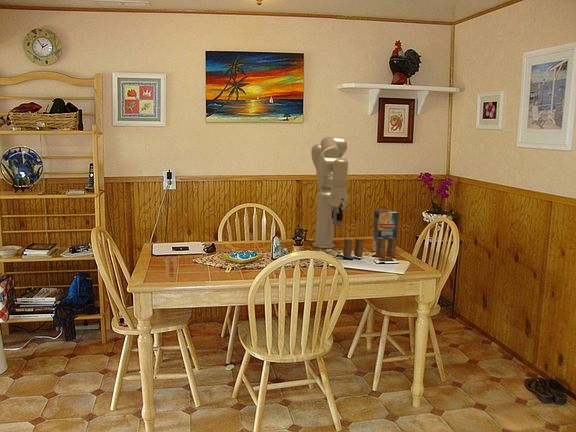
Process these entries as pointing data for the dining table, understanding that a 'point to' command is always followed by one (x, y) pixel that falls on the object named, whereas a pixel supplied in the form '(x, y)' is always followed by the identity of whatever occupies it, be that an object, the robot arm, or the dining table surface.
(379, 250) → the domino
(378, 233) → the beverage box
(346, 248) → the domino
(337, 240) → the dining table surface
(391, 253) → the domino
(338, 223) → the domino
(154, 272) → the dining table surface
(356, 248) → the domino
